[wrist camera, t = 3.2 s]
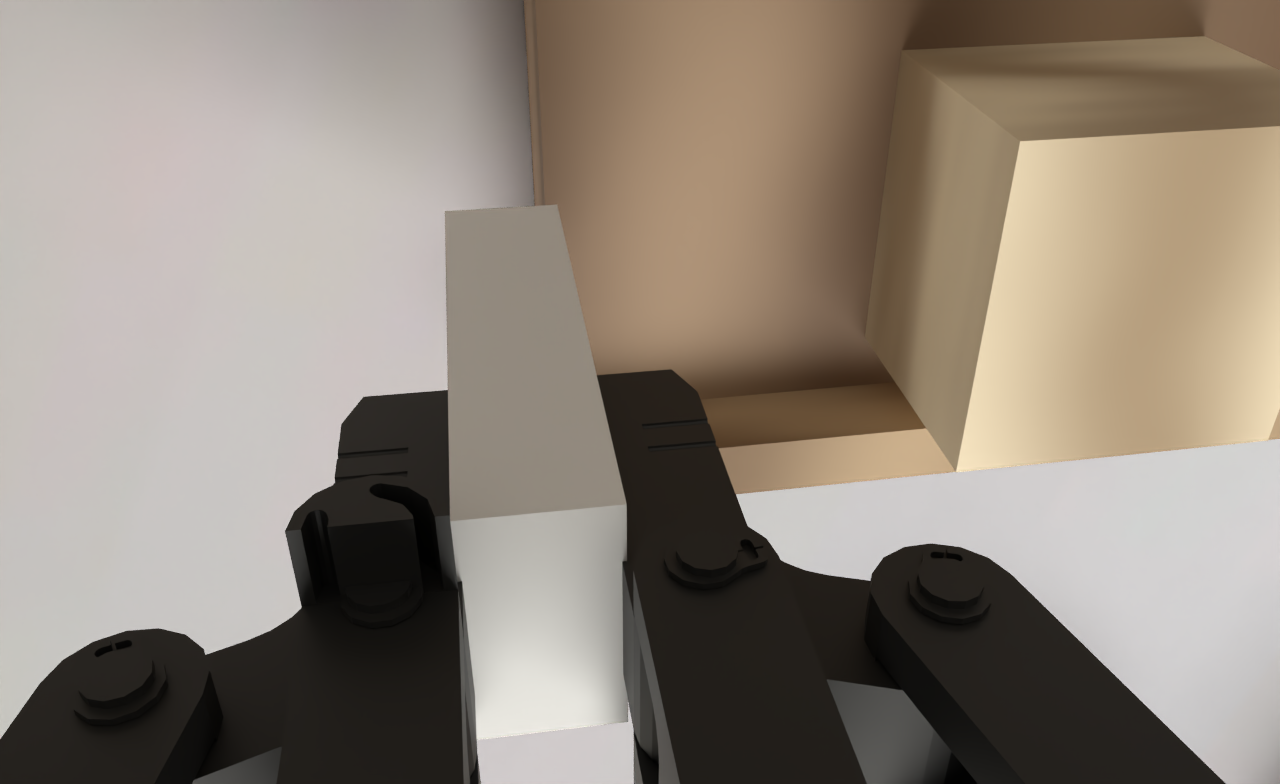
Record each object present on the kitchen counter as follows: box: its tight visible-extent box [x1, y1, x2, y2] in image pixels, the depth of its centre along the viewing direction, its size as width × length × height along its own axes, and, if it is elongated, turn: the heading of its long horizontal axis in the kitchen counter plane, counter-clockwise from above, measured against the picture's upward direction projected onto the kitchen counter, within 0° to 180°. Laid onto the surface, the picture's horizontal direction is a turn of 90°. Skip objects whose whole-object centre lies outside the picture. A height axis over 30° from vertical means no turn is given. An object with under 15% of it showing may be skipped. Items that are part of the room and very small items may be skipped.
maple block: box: [865, 36, 1280, 472], centre depth 17 cm, size 5×5×4 cm
